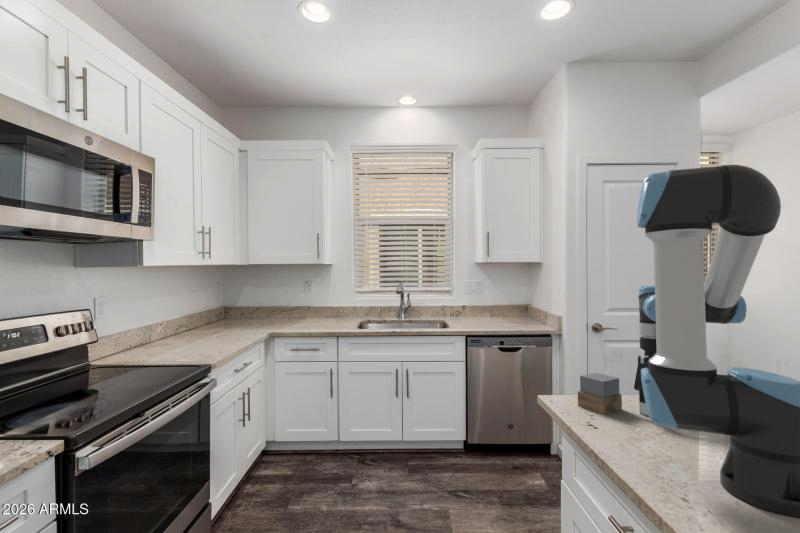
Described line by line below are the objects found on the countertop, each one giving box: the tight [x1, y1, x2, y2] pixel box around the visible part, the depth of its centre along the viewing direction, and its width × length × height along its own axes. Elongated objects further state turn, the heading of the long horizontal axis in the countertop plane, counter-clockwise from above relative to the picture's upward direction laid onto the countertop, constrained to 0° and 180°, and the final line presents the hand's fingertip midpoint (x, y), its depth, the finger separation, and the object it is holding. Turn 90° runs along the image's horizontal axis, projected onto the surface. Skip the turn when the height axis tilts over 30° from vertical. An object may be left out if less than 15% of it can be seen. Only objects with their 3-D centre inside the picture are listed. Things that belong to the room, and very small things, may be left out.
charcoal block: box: [579, 372, 620, 398], centre depth 125 cm, size 8×8×5 cm
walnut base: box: [577, 390, 623, 415], centre depth 125 cm, size 9×9×5 cm
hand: (655, 409), depth 118 cm, fingers open, 11 cm apart
